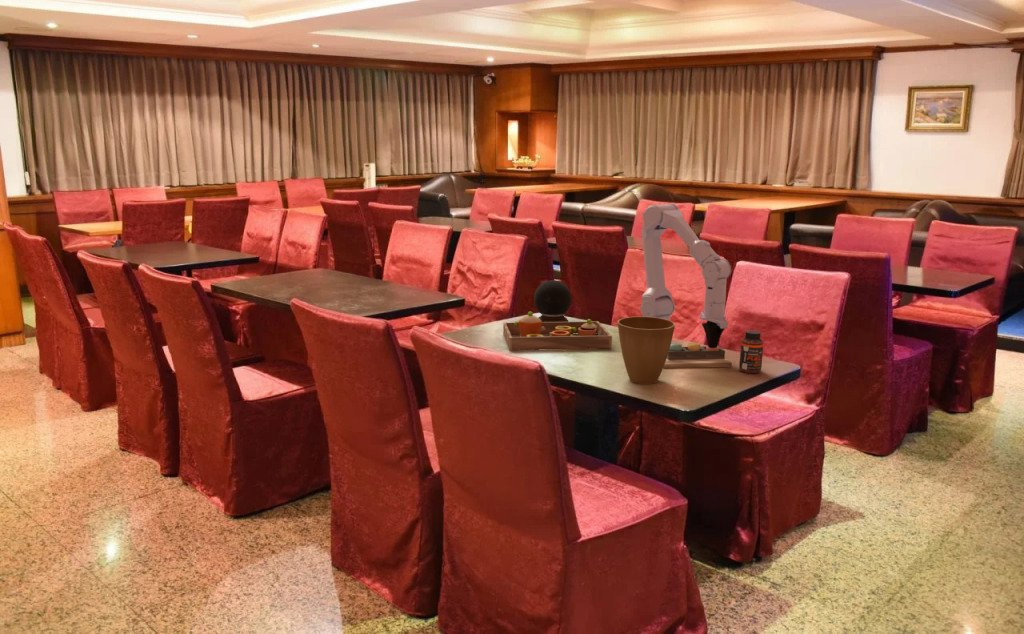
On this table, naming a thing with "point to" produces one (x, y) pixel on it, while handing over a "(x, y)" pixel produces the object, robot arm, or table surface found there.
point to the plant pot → (645, 346)
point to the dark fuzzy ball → (552, 301)
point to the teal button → (675, 347)
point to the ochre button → (693, 347)
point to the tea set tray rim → (557, 337)
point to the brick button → (711, 349)
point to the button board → (696, 358)
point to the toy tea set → (532, 328)
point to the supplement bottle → (751, 352)
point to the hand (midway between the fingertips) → (712, 347)
